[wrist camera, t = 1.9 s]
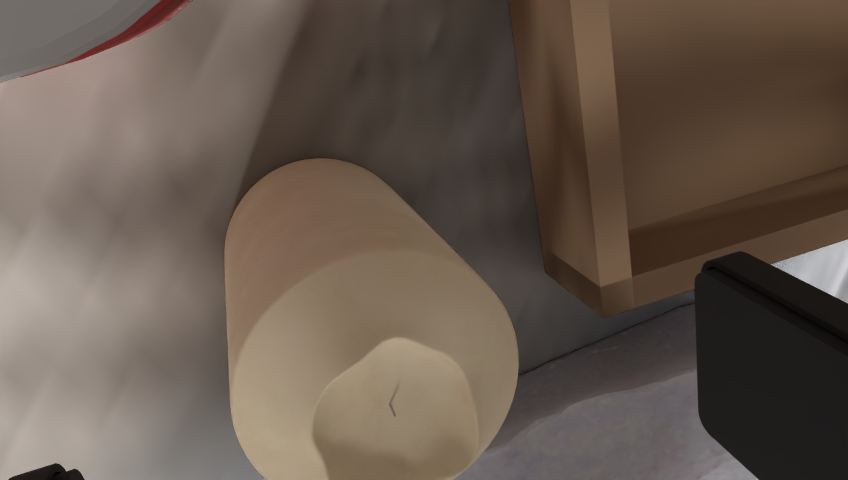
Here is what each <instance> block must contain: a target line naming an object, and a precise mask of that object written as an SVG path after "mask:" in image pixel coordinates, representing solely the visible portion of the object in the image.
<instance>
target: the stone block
mask: <svg viewBox="0 0 848 480" xmlns="http://www.w3.org/2000/svg"><path fill="white" fill-rule="evenodd" d="M453 480H759V479H757V478H756V477H755V476H754V475H753V474H752V473H751V472H750V471H749V470H748V469H746V468H745V467H744V466H743V465H742V464H741V463H740V462H739V461H738V460H737V459H735V458H734V457H733V456H732V455H731V454H730V453H729V452H728V451H727V450H726V449H724V448H723V447H722V446H721V445H720V444H719V443H718V442H717V441H716V440H715V439H713V438H712V437H711V436H710V435H709V434H708V433H707V431H706V430H705V428H704V427H703V425H702V423H701V421H700V417H699V413H698V389H697V355H696V322H695V304H692V305H686V306H683V307H679V308H676V309H674V310H672V311H670V312H667V313H665V314H662V315H660V316H658V317H655V318H653V319H650V320H647V321H645V322H642V323H640V324H638V325H636V326H633V327H631V328H629V329H627V330H624V331H622V332H619V333H617V334H615V335H612V336H610V337H607V338H605V339H602V340H600V341H598V342H596V343H594V344H591V345H589V346H586V347H584V348H581V349H579V350H577V351H574V352H572V353H570V354H567V355H565V356H563V357H560V358H558V359H555V360H552V361H549V362H547V363H546V364H544V365H542V366H540V367H538V368H537V369H535V370H532V371H530V372H528V373H525V374H523V375H520V376H518V378H517V385H516V389H515V393H514V397H513V401H512V403H511V406H510V409H509V411H508V414H507V416H506V418H505V420H504V422H503V424H502V426H501V427H500V429H499V431H498V433H497V434H496V436H495V437H494V439H493V440H492V441H491V443H490V444H489V446H488V447H487V448H486V449H485V450H484V452H483V453H482V454H481V455H480V456H479V457H478V459H477V460H476V461H474V462H473V463H472V465H471V466H470V467H469V468H467V469H466V470H465V471H464V472H463V473H461V474H460V475H459V476H457V477H456V478H455V479H453Z"/></svg>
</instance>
